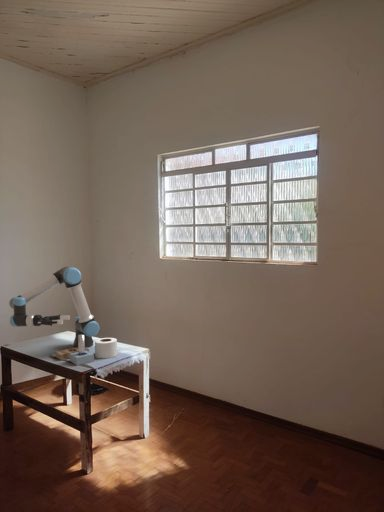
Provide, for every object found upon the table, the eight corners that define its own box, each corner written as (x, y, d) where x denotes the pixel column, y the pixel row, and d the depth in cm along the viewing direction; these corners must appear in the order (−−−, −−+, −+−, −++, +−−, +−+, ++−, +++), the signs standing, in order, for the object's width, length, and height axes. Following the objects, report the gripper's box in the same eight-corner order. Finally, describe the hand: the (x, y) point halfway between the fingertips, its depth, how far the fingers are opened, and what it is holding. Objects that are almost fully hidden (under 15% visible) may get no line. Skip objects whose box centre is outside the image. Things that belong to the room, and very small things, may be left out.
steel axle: (83, 359, 252) (82, 333, 251) (85, 361, 249) (85, 335, 248) (77, 361, 249) (77, 334, 249) (80, 362, 246) (79, 336, 246)
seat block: (86, 357, 258) (86, 350, 258) (94, 361, 249) (93, 354, 248) (69, 361, 250) (69, 353, 250) (77, 365, 241) (76, 357, 241)
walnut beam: (83, 351, 272) (82, 346, 272) (88, 354, 264) (88, 349, 264) (55, 357, 259) (55, 351, 259) (61, 360, 251) (61, 354, 251)
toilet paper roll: (90, 355, 262) (90, 340, 262) (108, 350, 274) (108, 336, 274) (103, 359, 252) (103, 344, 252) (121, 354, 264) (121, 339, 263)
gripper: (42, 321, 261) (72, 321, 261) (26, 330, 236) (59, 329, 236) (41, 311, 260) (71, 310, 260) (26, 319, 235) (59, 318, 235)
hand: (66, 319), depth 248 cm, fingers open, 13 cm apart
